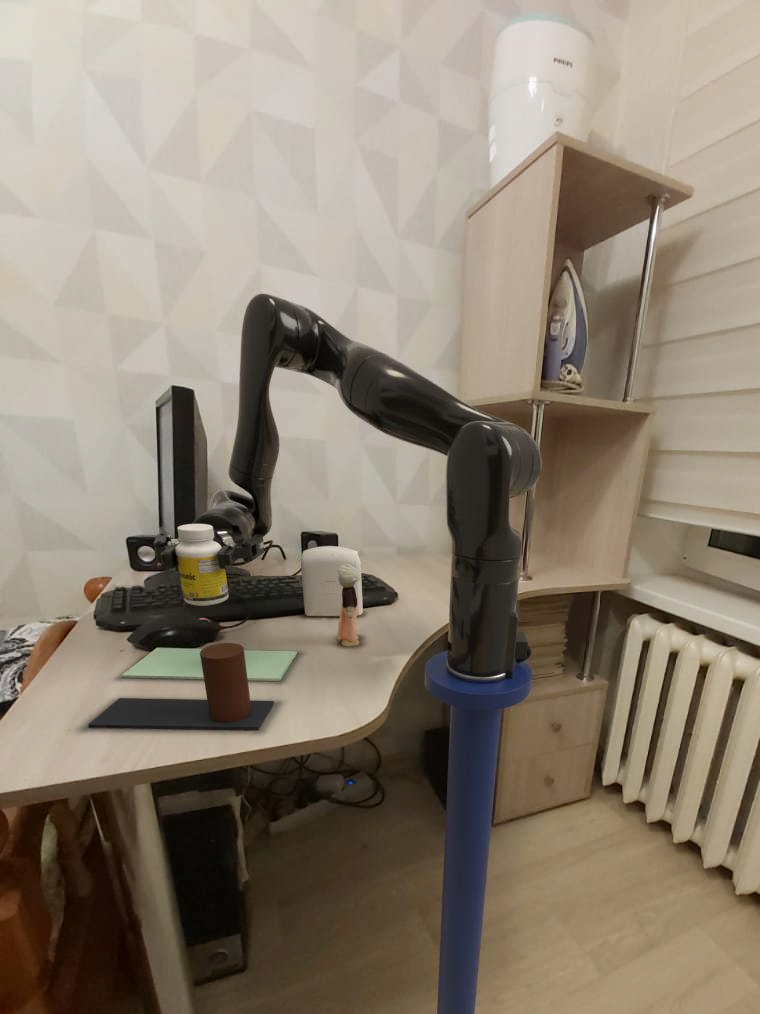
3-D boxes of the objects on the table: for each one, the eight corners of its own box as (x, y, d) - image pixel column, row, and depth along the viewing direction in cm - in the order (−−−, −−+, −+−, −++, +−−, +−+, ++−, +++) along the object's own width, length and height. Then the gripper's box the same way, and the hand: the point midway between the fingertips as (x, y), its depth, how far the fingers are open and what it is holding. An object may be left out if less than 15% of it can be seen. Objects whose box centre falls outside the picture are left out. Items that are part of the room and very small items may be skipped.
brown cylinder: (256, 703, 62) (249, 643, 59) (243, 723, 58) (235, 659, 55) (218, 703, 62) (209, 642, 59) (203, 722, 58) (192, 657, 55)
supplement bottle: (177, 598, 69) (164, 524, 65) (219, 591, 72) (209, 521, 69) (193, 609, 65) (180, 532, 61) (236, 601, 69) (226, 528, 65)
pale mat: (297, 653, 77) (297, 651, 77) (279, 681, 69) (279, 678, 69) (157, 650, 75) (156, 647, 75) (122, 677, 67) (121, 675, 67)
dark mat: (274, 703, 63) (273, 700, 63) (258, 730, 58) (257, 727, 58) (120, 700, 62) (119, 697, 62) (88, 727, 56) (87, 724, 56)
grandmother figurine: (334, 634, 85) (330, 559, 80) (357, 632, 86) (355, 558, 81) (341, 653, 78) (338, 572, 73) (367, 650, 80) (365, 571, 75)
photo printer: (302, 617, 91) (297, 548, 86) (306, 609, 95) (301, 543, 90) (362, 618, 93) (360, 550, 88) (363, 610, 97) (361, 544, 92)
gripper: (166, 506, 76) (123, 530, 61) (270, 509, 80) (253, 532, 64) (175, 556, 79) (136, 590, 64) (274, 557, 82) (260, 589, 67)
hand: (195, 561), depth 64 cm, fingers closed on supplement bottle, 5 cm apart
